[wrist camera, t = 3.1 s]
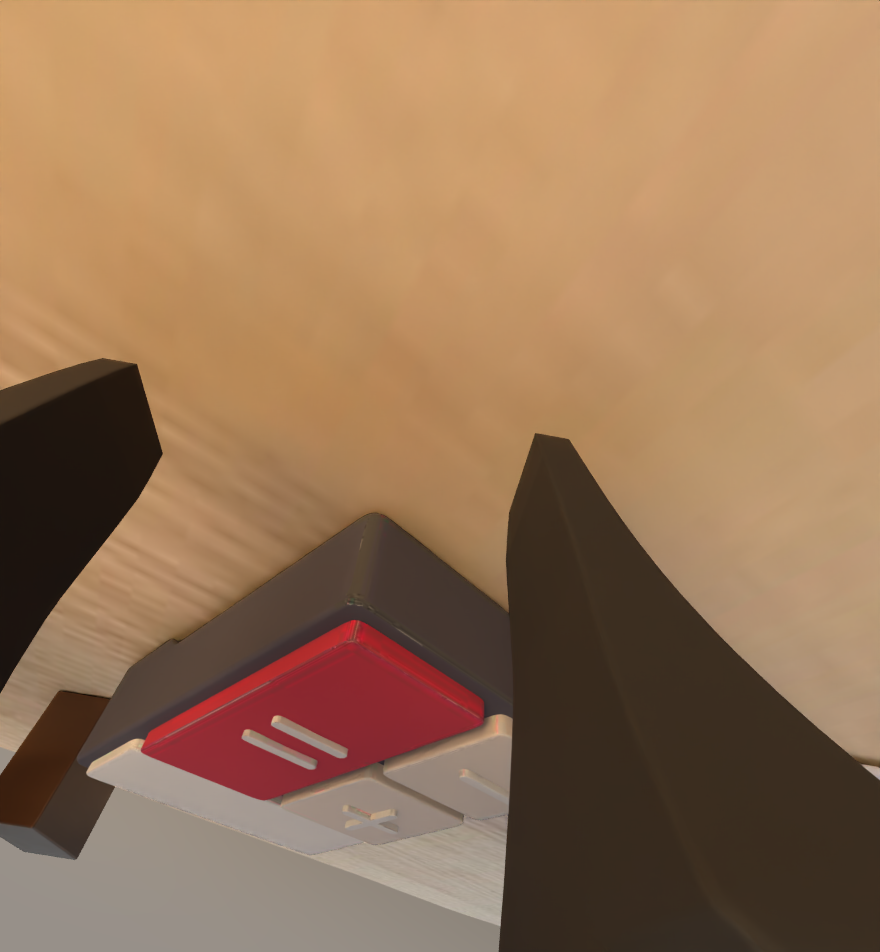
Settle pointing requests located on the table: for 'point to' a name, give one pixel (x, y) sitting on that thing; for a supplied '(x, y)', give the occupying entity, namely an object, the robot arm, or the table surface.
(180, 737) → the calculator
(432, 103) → the table surface
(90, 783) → the corner blocks
